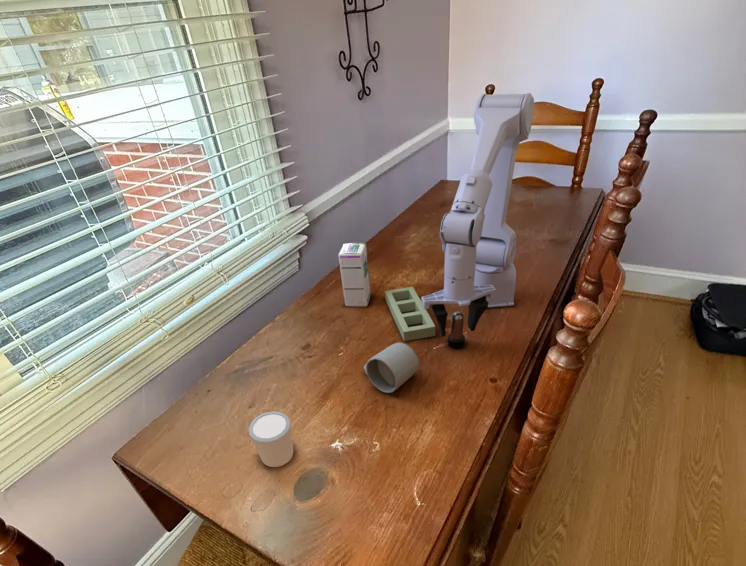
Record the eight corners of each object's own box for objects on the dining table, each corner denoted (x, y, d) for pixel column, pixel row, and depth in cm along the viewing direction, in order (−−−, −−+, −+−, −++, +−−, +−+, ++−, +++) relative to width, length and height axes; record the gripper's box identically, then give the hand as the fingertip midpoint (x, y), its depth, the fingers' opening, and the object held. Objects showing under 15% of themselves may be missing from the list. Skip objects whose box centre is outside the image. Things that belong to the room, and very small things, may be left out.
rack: (412, 295, 119) (412, 286, 118) (435, 335, 104) (435, 326, 103) (385, 299, 119) (384, 291, 117) (403, 341, 104) (403, 332, 102)
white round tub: (258, 442, 84) (249, 413, 80) (296, 436, 84) (290, 408, 80) (256, 472, 79) (246, 444, 75) (297, 467, 79) (290, 438, 75)
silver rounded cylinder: (463, 338, 102) (464, 307, 98) (466, 348, 99) (468, 316, 95) (446, 339, 103) (447, 308, 98) (449, 349, 100) (450, 317, 95)
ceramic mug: (422, 376, 94) (421, 344, 89) (397, 399, 89) (395, 367, 85) (380, 358, 100) (377, 328, 96) (355, 379, 96) (351, 348, 91)
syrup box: (367, 307, 117) (362, 252, 108) (344, 306, 118) (337, 253, 110) (371, 295, 121) (366, 242, 113) (348, 294, 123) (342, 242, 114)
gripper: (428, 289, 87) (428, 348, 95) (504, 276, 88) (498, 335, 96) (418, 272, 93) (418, 329, 101) (489, 260, 94) (484, 317, 102)
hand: (456, 331), depth 99 cm, fingers open, 6 cm apart
